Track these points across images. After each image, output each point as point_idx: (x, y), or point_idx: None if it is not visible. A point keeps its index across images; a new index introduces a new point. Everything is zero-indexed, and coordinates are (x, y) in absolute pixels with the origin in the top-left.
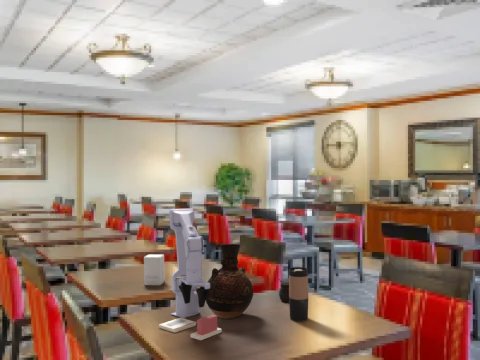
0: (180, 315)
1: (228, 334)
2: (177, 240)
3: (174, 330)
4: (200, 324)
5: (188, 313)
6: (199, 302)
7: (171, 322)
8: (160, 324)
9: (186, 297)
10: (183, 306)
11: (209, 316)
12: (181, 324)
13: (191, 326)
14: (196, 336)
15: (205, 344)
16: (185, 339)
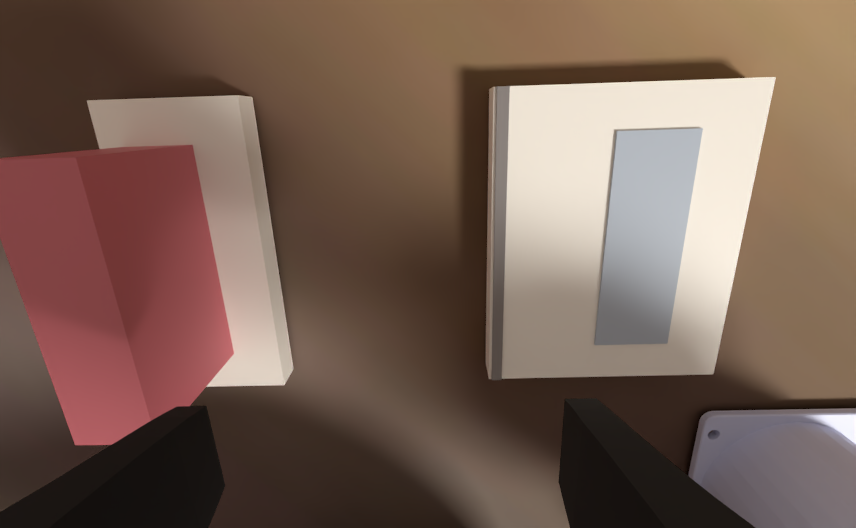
0: (768, 427)
1: None
2: None
3: (497, 87)
4: (46, 154)
5: (717, 484)
6: (89, 465)
7: (687, 216)
8: (758, 92)
9: (616, 522)
10: (809, 514)
11: (114, 376)
12: (554, 245)
13: (487, 311)
14: (151, 98)
15: (5, 66)
16: (251, 25)
